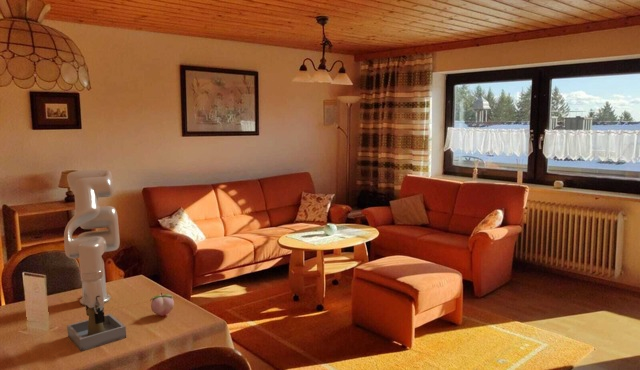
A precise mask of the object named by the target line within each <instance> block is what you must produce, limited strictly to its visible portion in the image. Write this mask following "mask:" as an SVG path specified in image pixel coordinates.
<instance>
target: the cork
mask: <svg viewBox="0 0 640 370" xmlns="http://www.w3.org/2000/svg"><path fill="white" fill-rule="evenodd" d="M98 308H99V307H97V309H98ZM87 314H88V320H89V322H88V336H90V335H94V334H97V333H101V332H104V331H105V330H104V326H103V322H102V323H99V324H96V323H95V310H94V307H92V308H88V309H87ZM87 314H86V315H87Z"/></svg>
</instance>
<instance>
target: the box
mask: <svg viewBox="0 0 640 370" xmlns="http://www.w3.org/2000/svg"><path fill="white" fill-rule="evenodd" d="M104 319H105V321H104V322H103V326H104V330H105V331H104V332H101V333H97V334H94V335H90V336H88V322H89V319H85V320H82V321H77V322H75V323H71V324H67V325H66V330H67V338H68V339H70V341H71V342H72V343H73V344H74V345H75V346H76V347H77V349H78V350H79V351H80V352H84V351H87V350H91V349H94V348H97V347H101V346H103V345H104V346H105V345H107V344H110V343H113V342H117V341H120V340H124V339H127V331H126V330H127V328H126V325H125V324H124V323H122V322H121V321H120V320H118V318H117V317H114V315H112V314H111V313H107V314H104Z"/></svg>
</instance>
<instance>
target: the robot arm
mask: <svg viewBox="0 0 640 370" xmlns="http://www.w3.org/2000/svg"><path fill="white" fill-rule="evenodd" d="M66 177H67V178H66V180H67V183H68V186H69V188H70V190H71V192H72V194H73V195H74V208H75V214H74V216H72V218H70V220H69V221H68V222H67V224H66V226H65V228H64V231H63V232H64V233H63V240H64V241H63V243H64V245H63V247H64V253H65V256H66V257H67V258H69V259H72V260H73V259H78V261H79V270H80V281H81V283H82V284H81V287H82V288H81V291H82V297H81V298H80V299H79V303H80V304H81V305H82V306H85V311H86V315H87V316H88V314H87V309H88V308H92V307H94V310H95V323H96V324H99V323H102V322H104V321H105V319H104V315H105V308H104V304H105V303H107V302H109V301H110V300H111V295H110V294H109V293H107V284H106V281H107V280H106V271H105V270H106V269H105V262H104V259H103V257H102V256H103V255H104V253H106V252H113V251H117V250H118V249H119V248H120V244H121V243H120V242H121V241H120V226H119V216H118V212H117V209H116V207H114V206H112V205H106V206H104V205H103V206H102V205H101V206H100V204H99V203H100V202H99V198H100V199H101V198H111V197H112V196H113V194H114V190H115V184H114V177H113V174H112V172H111V170H108V169H88V170H75V171H71V172H69V173H68V174H67V176H66ZM79 227H80V228H81V229H83V230H90V231H85V232H81V233H80V234H78V235H77V237H75V238H73V233H74V232H75V231H76V229H77V228H79ZM105 228H106V230H105ZM94 229H104V230H94ZM97 307H99V308H98V309H97ZM88 317H89V316H88Z"/></svg>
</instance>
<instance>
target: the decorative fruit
mask: <svg viewBox="0 0 640 370" xmlns="http://www.w3.org/2000/svg"><path fill="white" fill-rule="evenodd" d="M173 298H174V296H173V295H172V294H169V293H165V294H164V293H162V292H160V294H159V295H158V294H157V295H154V296H153V297H152V298H151V299H150V301H151V303H150V308H151V311H152V313H154V314H155V315H157V316H161V317H165V316H167V314H170V313H171V311H172V310H173V309H174V307H175V301H174V299H173Z"/></svg>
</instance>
